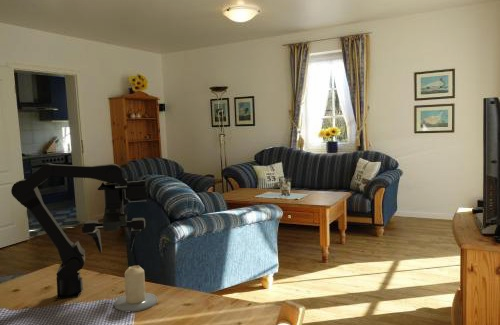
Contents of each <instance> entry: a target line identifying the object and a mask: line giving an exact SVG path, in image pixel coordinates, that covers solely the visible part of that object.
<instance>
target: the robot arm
mask: <svg viewBox="0 0 500 325" xmlns="http://www.w3.org/2000/svg"><path fill="white" fill-rule="evenodd" d="M51 177H53V178H75V179H77V178H78V179H79V178H80V179H81V178H82V179H92V180H96V181H100V182H101V183H100V185H99V186H97V191H103V202H104V207H103V208H104V213H103V217H102V222H99V220H96V219H95V220H86V221H85V222H84V223H83V224H82V225H81V230H82V231H81V232H82V234H85V233H86V235H87V236H91V238H92V239H93V241H94V242H95V244H96V247H97V250H98V252H99V254H102V251H103V249H102V248H103V247H102V238H101V231H100V230H101V229H102V230H103V232H109V231H110V232H111V231H114V232H118V231H120V229H121V228H131V230H130V239H129V240H130V241H129V251H130V252H132V250H133V247H134V246H133V245H134V242H135V238H136V236H137V234H138V233H140V232H141V231H142V230H145V228H146V219H145V218H144V217H133V218H132V219H131V220H130V221H129V220H127V218H128V217H127V213H125V212H124V199H125V200H127V201H128V203H137V202H147V200H148V191H147V185H146V184H147V183H146V181H145V180H143V179H141V180H138V181H137V180H136V181H128V179H127V178H126V177H124V175H123V171H122V168H121V167H120V165H118V164H116V163H107V164H105V163H104V164H98V165H74V164H73V165H72V164H53V163H50V162H49V163H44V164H42V166H40V167H39V169H37V170H35V172H33V173H32V174H31V175H29V176H28V177H27V178H23V179H21V180H18V181H16V182H15V183H13V185H12V186H11V190H10V193H11V195H12V197H13V198H14V199H15V200H17V202H18V203H19V204H20V205H22V206H23V207H24V208H25V209H28V211H29V212H31V214H32V215H33V217H34V218H35V220H36V221H37V222H38V223H39V225H40V227H41V228H42V229H43V231H44V232H45V233H46V235H47V236H48V239H49V240H50V241H51V242H52V244H53V245H54V247H55V248H56V249H57V252H58V255H59V258H60V261H61V263H60V265H59V266H58V269H57V271H56V275H55V276H56V296H55V299H56V300H58V299H69V298H71V299H72V298H78V297H79V296H80V295H81V294H82V291H83V290H84V289H83V284H84V283H83V277H81V272H80V271H81V270H82V269H83V268H84V266H85V265H84V264H85V261H86V254H85V253H86V250H85V249H84V248H83V247H82V246H81V244H80V241H79V240H76V241H75V243H74V242H73V241H71V240H70V238H69V236H67V234H66V233H65V232H64V230H63V229H62V227H61V226H60V225H59V223H58V221H57V220H56V219H55V217H54V216H53V215H52V214H53V213H52V212H50V210H49V209H48V207H47V206H46V204H45V203H44V201H43V198H42V194H41V191H40V189H39V187H40V186H41V185H42V184H43V183H45V181H47V180H48V179H49V178H51ZM104 182H106V183H104ZM107 183H108V184H107ZM115 183H116V184H118V185H120V186H116V184H115ZM123 192H124V193H123Z"/></svg>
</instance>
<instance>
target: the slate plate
mask: <svg viewBox="0 0 500 325" xmlns="http://www.w3.org/2000/svg"><path fill="white" fill-rule="evenodd" d="M113 303H114V304H113V305H114V306H115V307H114V309H115V308H116V309H115V310H117V309H118V310H117V311H119V310H121V311H120V312H123V311H134V313H135V312H141V311H144V310H149V309H150V308H152V307H154V306H155V305H156V304H157V303H158V298H157V296H156V295H155V294H153V293H150V292H145V300H144V301H143V302H141V303H137V304H129V303H127V302H126V294H125V295H123V296H120V297H118V298H117V299H116V300H114V302H113Z"/></svg>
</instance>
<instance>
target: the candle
mask: <svg viewBox="0 0 500 325" xmlns="http://www.w3.org/2000/svg"><path fill="white" fill-rule="evenodd" d="M145 277H146V276H145V270H144V268H142V267H141V266H140V265H139V264H138V265H132V266H128V268H127V269H126V270H125V272H124V288H125V295H126V302H127V303H129V304H137V303H141V302H143V301H144V300H145V293H146V284H145V282H146V281H145V280H146V279H145Z"/></svg>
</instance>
